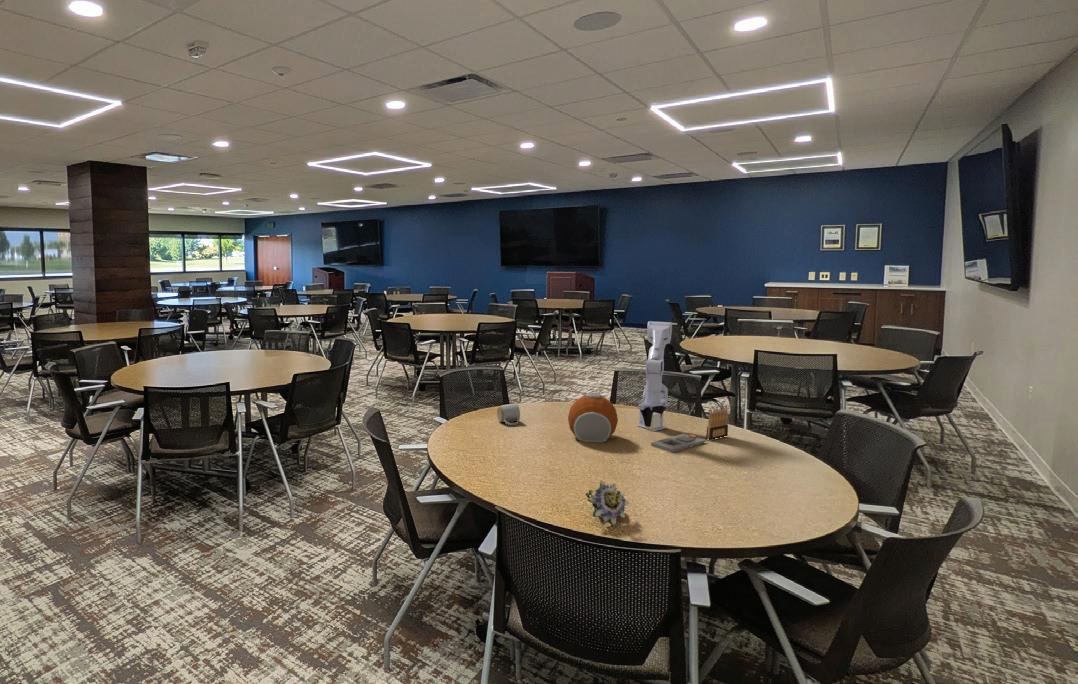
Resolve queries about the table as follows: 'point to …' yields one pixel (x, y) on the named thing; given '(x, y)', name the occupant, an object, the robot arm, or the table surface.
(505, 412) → the ceramic mug
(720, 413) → the ammunition clip
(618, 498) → the passion flower
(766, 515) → the table surface
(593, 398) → the alarm clock
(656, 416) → the plug
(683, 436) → the socket strip
